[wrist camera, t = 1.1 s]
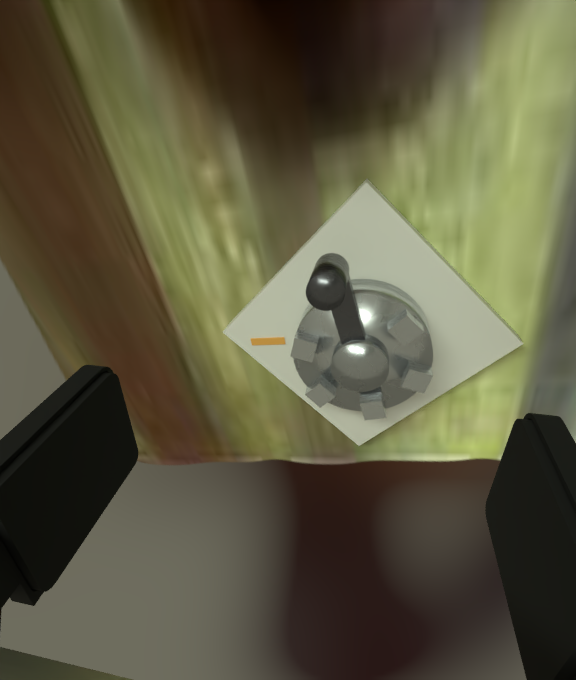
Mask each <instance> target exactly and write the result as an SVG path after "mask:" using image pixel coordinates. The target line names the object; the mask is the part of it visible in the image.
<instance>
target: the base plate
mask: <svg viewBox="0 0 576 680" xmlns="http://www.w3.org/2000/svg"><path fill="white" fill-rule="evenodd" d="M328 253H336V254H339V255H341V256H342V257H344V258H345V259H346V261H347V262H348V265H349V276H350V279H351V280H353V279H374V280H379V281H383V282H386V283H389V284H392V285H394V286H396V287H398V288H400V289H401V290H403V291H404V292H406V293H407V294H408V295H410V296H411V297H412V298H413V299H414V300H415V301H416V302H417V303H418V305H419V306H420V308H421V309H422V311H423V313H424V315H425V317H426V319H427V323H428V326H429V331H430V336H431V341H432V347H433V362H432V373H433V377H432V379H431V381H430V383H429V385H428V387H427V389H426V391H425V393H420V392H416V393H415V394H414V395H413V396H411V397H410V398H409V399H407V400H405V401H404V402H402V403H400V404H398V405H395V406H393V407H390V408H387V409H386V418H381V419H373V420H364V416H363V413H362V411H354V410H348V409H344V408H340V407H337V406H334V405H332V404H330V403H326V404H325V405H324V406H322V407H321V408H320V407H319V406H317V405H316V404H315V403H314V402H313V401H311V400H310V399H309V398H308V397H307V396H306V395H305V392H306V388H307V386H306V385H305V384H304V382H303V381H302V379H301V378H300V376H299V374H298V372H297V370H296V367H295V364H294V359H293V357H290V355H291V351H292V347H293V342H294V338H295V335H296V332H297V329H298V326H299V323H300V321H301V318H302V315H303V313H304V311H305V309H306V308H307V306H308V305H309V301H308V300H307V297H306V287H307V284H308V282H309V279H310V277H311V274H312V272H313V269H314V267H315V264H316V262H317V260H318V259H319V258H320V257H321V256H323V255H325V254H328ZM223 333H224V334H225V335H227V336H228V337H229V338H230V339H231V340H233V341H234V342H235V343H236V344H237V345H239V346H240V347H241V348H242V349H243V350H245V351H246V352H247V353H248V354H249V355H251V356H252V357H253V358H254V359H255V360H257V361H258V362H259V363H260V364H261V365H263V366H264V367H265V368H266V369H267V370H269V371H270V372H271V373H272V374H273V375H275V376H276V377H277V378H278V379H279V380H281V381H282V382H283V383H284V384H285V385H287V386H288V387H289V388H290V389H291V390H293V391H294V392H295V393H296V394H297V395H299V396H300V397H301V398H302V399H303V400H305V401H306V402H307V403H308V404H309V405H311V406H312V407H313V408H314V409H315V410H317V411H318V412H319V413H320V414H321V415H323V416H324V417H325V418H326V419H327V420H329V421H330V422H331V423H332V424H333V425H335V426H336V427H337V428H338V429H339V430H341V431H342V432H343V433H344V434H345V435H346V436H348V437H349V438H350V439H351V440H352V441H354V442H355V443H356V444H357V445H358V446H360V445H361V444H363V443H365V442H366V441H368V440H370V439H371V438H373V437H374V436H376V435H378V434H379V433H381V432H382V431H384V430H386V429H387V428H389V427H390V426H392V425H394V424H395V423H397V422H398V421H400V420H402V419H403V418H405V417H407V416H408V415H410V414H411V413H413V412H415V411H416V410H418V409H419V408H421V407H423V406H424V405H426V404H427V403H429V402H431V401H432V400H434V399H436V398H437V397H439V396H440V395H442V394H444V393H445V392H447V391H448V390H450V389H452V388H453V387H455V386H456V385H458V384H460V383H461V382H463V381H465V380H466V379H468V378H469V377H471V376H473V375H474V374H476V373H477V372H479V371H481V370H482V369H484V368H485V367H487V366H489V365H490V364H492V363H494V362H495V361H497V360H498V359H500V358H502V357H503V356H505V355H506V354H508V353H510V352H511V351H513V350H514V349H516V348H518V347H519V346H521V345H522V344H523V342H522V341H521V339H520V337H519V335H518V334H517V333H516V332H515V331H514V330H513V329H512V328H511V327H510V326H509V325H508V324H507V323H506V322H505V321H504V320H503V319H502V318H501V317H500V316H499V314H498V313H497V312H496V311H495V310H494V309H493V308H492V307H491V306H490V305H489V304H488V303H487V302H486V301H485V300H484V299H483V298H482V297H481V296H480V295H479V294H478V293H477V292H476V291H475V290H474V289H473V288H472V287H471V285H470V284H469V283H468V282H467V281H466V280H465V279H464V278H463V277H462V276H461V275H460V274H459V273H458V272H457V271H456V270H455V269H454V268H453V267H452V266H451V265H450V264H449V263H448V262H447V261H446V260H445V259H444V258H443V256H442V255H441V254H440V253H439V252H438V251H437V250H436V249H435V248H434V247H433V246H432V245H431V244H430V243H429V242H428V241H427V240H426V239H425V238H424V237H423V236H422V235H421V234H420V233H419V232H418V231H417V230H416V228H415V227H414V226H413V225H412V224H411V223H410V222H409V221H408V220H407V219H406V218H405V217H404V216H403V215H402V214H401V213H400V212H399V211H398V210H397V209H396V208H395V207H394V206H393V205H392V204H391V203H390V202H389V201H388V199H387V198H386V197H385V196H384V195H383V194H382V193H381V192H380V191H379V190H378V189H377V188H376V187H375V186H374V185H373V184H372V183H371V182H370V181H369V180H368V179H366V180H365V181H364V182H363V183H362V184H361V185H360V186H359V187H358V188H357V189H356V190H355V192H354V193H353V194H352V195H351V196H350V197H349V198H348V199H347V200H346V201H345V202H344V203H343V204H342V205H341V206H340V207H339V208H338V209H337V210H336V211H335V213H334V214H333V215H332V216H331V217H330V218H329V219H328V220H327V221H326V222H325V223H324V224H323V225H322V226H321V227H320V228H319V229H318V230H317V231H316V232H315V234H314V235H313V236H312V237H311V238H310V239H309V240H308V241H307V242H306V243H305V244H304V245H303V246H302V247H301V248H300V249H299V250H298V251H297V252H296V253H295V255H294V256H293V257H292V258H291V259H290V260H289V261H288V262H287V263H286V264H285V265H284V266H283V267H282V268H281V269H280V270H279V271H278V272H277V273H276V274H275V276H274V277H273V278H272V279H271V280H270V281H269V282H268V283H267V284H266V285H265V286H264V287H263V288H262V289H261V290H260V291H259V292H258V293H257V294H256V295H255V297H254V298H253V299H252V300H251V301H250V302H249V303H248V304H247V305H246V306H245V307H244V308H243V309H242V310H241V311H240V312H239V313H238V314H237V315H236V316H235V318H234V319H233V320H232V321H231V322H230V323H229V324H228V325H227V326H226V328H225V329H224V331H223Z"/></svg>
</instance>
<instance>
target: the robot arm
mask: <svg viewBox="0 0 576 680" xmlns="http://www.w3.org/2000/svg"><path fill="white" fill-rule="evenodd" d="M137 458H138V448H137V444H136V441H135V437H134V433H133V430H132V426H131V422H130V419H129V415H128V411H127V408H126V404H125V400H124V397H123V393H122V389H121V386H120V382H119V378H118V376H117V375H116V374H114V373H113V371H112V370H111V369H110V368H109V367H103V366H94V365H84V366H83V367H81V368H80V369H79V370H78V371H77V372H76V373H74V374H73V375H72V376H71V377H70V378H69V379H68V380H67V381H66V382H64V383H63V384H62V385H61V386H60V387H59V388H58V389H57V390H56V391H54V392H53V393H52V394H51V395H50V396H49V397H48V398H47V399H46V400H44V401H43V402H42V403H41V404H40V405H39V406H38V407H37V408H36V409H34V410H33V411H32V412H31V413H30V414H29V415H28V416H27V417H25V418H24V419H23V420H22V421H21V422H20V423H19V424H18V425H17V426H15V427H14V428H13V429H12V430H11V431H10V432H9V433H8V434H6V435H5V436H4V437H3V438H2V439H1V440H0V628H1V609H2V607H3V605H4V604H5V603H6V601H7V600H8V599H9V597H10V598H11V600H12V601H15V602H19V603H24V604H28V605H33V606H34V605H35V604H36V602H37V601H38V599H39V598H40V596H41V595H42V594H43V592H44V591H48V590H49V589H50V588H52V587H53V585H54V584H55V583H56V581H57V580H58V578H59V577H60V575H61V574H62V572H63V571H64V569H65V568H66V566H67V565H68V563H69V562H70V561H71V559H72V558H73V556H74V554H75V553H76V552H77V550H78V549H79V547H80V546H81V544H82V543H83V541H84V540H85V538H86V537H87V535H88V534H89V532H90V531H91V529H92V528H93V526H94V525H95V523H96V522H97V520H98V519H99V517H100V516H101V514H102V513H103V511H104V510H105V508H106V507H107V506H108V504H109V503H110V501H111V499H112V498H113V497H114V495H115V494H116V492H117V491H118V489H119V487H120V486H121V485H122V483H123V482H124V480H125V479H126V477H127V476H128V474H129V473H130V471H131V470H132V468H133V467H134V465H135V464H136V461H137ZM486 518H487V523H488V527H489V530H490V534H491V539H492V543H493V546H494V550H495V554H496V558H497V563H498V567H499V570H500V575H501V578H502V583H503V587H504V590H505V595H506V599H507V603H508V607H509V611H510V615H511V619H512V623H513V627H514V631H515V634H516V638H517V643H518V647H519V650H520V655H521V659H522V662H523V666H524V670H525V674H526V678H527V680H576V443H575V441H574V439H573V438H572V436H571V434H570V432H569V431H568V429H567V427H566V425H565V423H564V422H563V420H562V419H561V418H560V417H558V416H552V415H543V414H533V413H528V414H526V415H525V417H524V419H517V420H516V421H515V422H514V425H513V427H512V430H511V433H510V436H509V439H508V442H507V444H506V447H505V450H504V453H503V456H502V459H501V461H500V464H499V467H498V470H497V473H496V476H495V478H494V481H493V484H492V487H491V490H490V493H489V495H488V498H487V501H486ZM0 630H1V629H0ZM0 680H132V679H128V678H124V677H120V676H115V675H111V674H108V673H104V672H100V671H96V670H91V669H87V668H83V667H79V666H75V665H71V664H67V663H63V662H59V661H55V660H51V659H47V658H42V657H38V656H35V655H31V654H26V653H22V652H18V651H14V650H10V649H6V648H2V647H0Z"/></svg>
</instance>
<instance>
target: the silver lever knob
mask: <svg viewBox="0 0 576 680" xmlns="http://www.w3.org/2000/svg"><path fill="white" fill-rule="evenodd" d="M306 297H307V300H308V301H309V305H308V306H307V308H306V309H305V311H304V313H303V315H302V318H301V321H300V323H299V326H298V329H297V332H296V335H295V338H294V342H293V347H292V351H291V355H290V357H293V359H294V364H295V367H296V370H297V372H298V374H299V376H300V378H301V379H302V381H303V382H304V384H305V385H306V386H307V388H306V392H305V395H306V396H307V397H308V398H309V399H310V400H311V401H313V402H314V403H315V404H316V405H317V406H319V407H320V408H321V407H322V406H324V405H325V404H326V403H330V404H332V405H334V406H337V407H340V408H344V409H348V410H354V411H362V413H363V416H364V420H373V419H381V418H386V409H387V408H390V407H393V406H395V405H398V404H400V403H402V402H404V401H405V400H407V399H409V398H410V397H411V396H413V395H414V394H415V393H416V392H420V393H425V391H426V389H427V387H428V385H429V383H430V381H431V379H432V377H433V373H432V362H433V347H432V341H431V336H430V331H429V326H428V323H427V319H426V317H425V315H424V313H423V311H422V309H421V308H420V306H419V305H418V303H417V302H416V301H415V300H414V299H413V298H412V297H411V296H410V295H408V294H407V293H406V292H404V291H403V290H401V289H400V288H398V287H396V286H394V285H392V284H389V283H386V282H383V281H379V280H374V279H353V280H351V279H350V276H349V265H348V262H347V261H346V259H345V258H344V257H342V256H341V255H339V254H336V253H328V254H325V255H323V256H321V257H320V258H319V259H318V260H317V262H316V264H315V267H314V269H313V272H312V274H311V277H310V279H309V282H308V284H307V287H306Z"/></svg>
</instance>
